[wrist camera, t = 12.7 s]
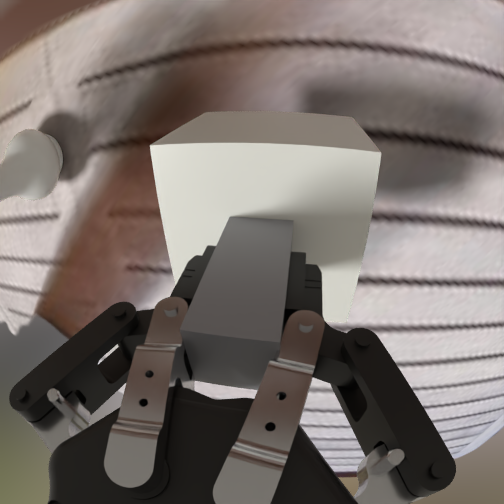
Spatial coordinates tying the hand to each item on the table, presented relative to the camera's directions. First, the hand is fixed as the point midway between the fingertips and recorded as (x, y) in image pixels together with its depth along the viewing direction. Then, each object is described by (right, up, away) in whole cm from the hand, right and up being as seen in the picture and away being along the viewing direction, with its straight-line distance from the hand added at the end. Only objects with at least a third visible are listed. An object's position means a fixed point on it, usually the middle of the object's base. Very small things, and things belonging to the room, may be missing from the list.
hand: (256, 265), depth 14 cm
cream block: (+2, +6, +8) cm, 10 cm away
